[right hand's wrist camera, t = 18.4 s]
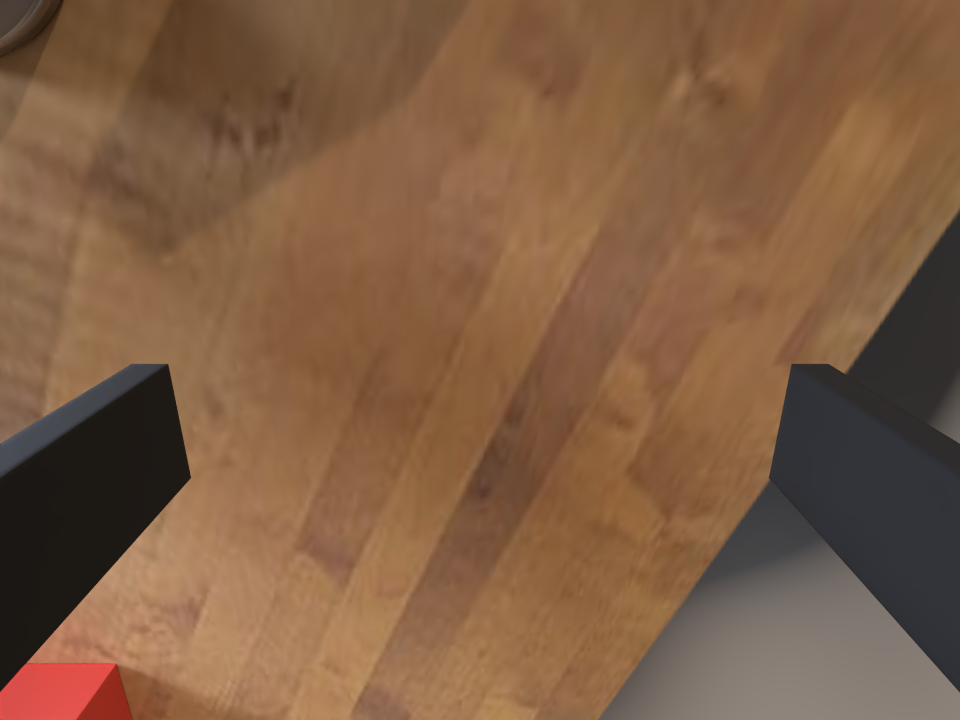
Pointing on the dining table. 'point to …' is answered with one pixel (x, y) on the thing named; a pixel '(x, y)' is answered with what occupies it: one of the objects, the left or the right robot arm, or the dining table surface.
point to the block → (65, 693)
